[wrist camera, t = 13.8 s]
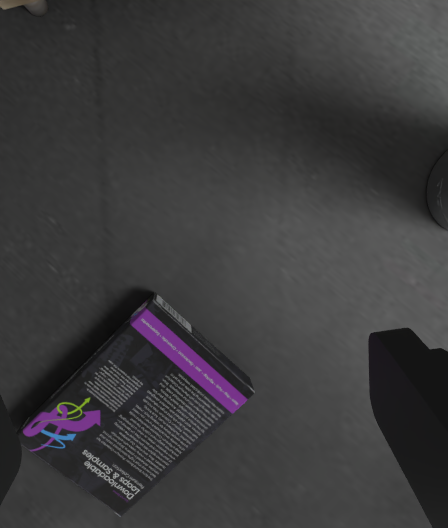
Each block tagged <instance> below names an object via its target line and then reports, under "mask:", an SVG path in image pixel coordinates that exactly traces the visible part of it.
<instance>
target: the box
mask: <svg viewBox="0 0 448 528" xmlns="http://www.w3.org/2000/svg"><path fill="white" fill-rule="evenodd" d="M253 394H255V392H254V389H253V386H252V383H251V380H250V378H249V377H248V376H247V375H246V374H245V373H244V372H242V371H241V370H240V369H239V368H238V367H237V366H236V365H235V364H233V363H232V362H231V361H230V360H229V359H228V358H227V357H226V356H225V355H223V354H222V353H221V352H220V351H219V350H218V349H217V348H216V347H215V346H213V345H212V344H211V343H210V342H209V341H208V340H207V339H206V338H205V337H204V336H202V335H201V334H200V333H199V332H198V331H197V330H196V329H195V328H193V327H192V326H191V325H190V324H189V323H188V322H187V321H186V320H185V319H184V318H182V317H181V316H180V315H179V314H178V313H177V312H176V311H175V310H174V309H173V308H172V307H170V306H169V305H168V304H167V303H166V302H165V301H164V300H163V299H162V298H161V297H159V296H158V295H157V294H156V293H154V294H152V295H151V296H150V297H149V298H148V299H147V300H146V301H145V302H144V303H143V304H142V305H141V306H140V307H139V308H138V309H137V310H136V311H135V312H134V313H133V314H132V315H131V316H130V317H129V318H128V319H127V320H126V321H125V322H124V323H123V324H122V325H121V326H120V327H119V328H118V329H117V330H116V331H115V332H114V333H113V334H112V335H111V336H110V337H109V338H108V339H107V340H106V341H105V342H104V343H103V344H102V345H101V346H100V347H99V348H98V349H97V350H96V351H95V352H94V353H93V354H92V355H91V356H90V357H89V358H88V359H87V360H86V361H85V362H84V363H83V364H82V365H81V366H80V367H79V368H78V369H77V370H76V371H75V372H74V373H73V374H72V375H71V376H70V377H69V378H68V379H67V380H66V381H65V382H64V383H63V384H62V385H61V386H60V387H59V388H58V389H57V390H56V391H55V392H54V393H53V394H52V395H51V396H50V397H49V398H48V399H47V400H46V401H45V402H44V403H43V404H42V405H41V406H40V407H39V408H38V409H37V410H36V411H35V412H34V413H33V414H32V415H31V416H30V417H29V418H28V419H27V420H26V421H25V422H24V423H23V424H22V426H21V427H20V429H19V430H18V432H17V435H18V438H19V440H20V443H21V445H22V446H24V447H25V448H27V449H28V450H29V451H31V452H32V453H33V454H35V455H36V456H38V457H39V458H40V459H42V460H43V461H45V462H46V463H47V464H49V465H50V466H52V467H53V468H54V469H56V470H57V471H58V472H60V473H61V474H63V475H64V476H66V477H67V478H68V479H70V480H71V481H73V482H74V483H76V484H77V485H78V486H80V487H81V488H82V489H84V490H85V491H87V492H88V493H90V494H91V495H92V496H94V497H95V498H97V499H98V500H99V501H101V502H102V503H104V504H105V505H106V506H108V507H109V508H111V509H112V510H113V511H114V512H115V513H116V514H117V515H118V516H120V517H121V516H123V515H124V514H125V513H126V512H127V511H128V510H129V509H130V508H131V507H132V506H133V505H134V504H136V503H137V502H138V501H139V500H140V499H141V498H142V497H143V496H144V495H145V494H146V493H147V492H149V491H150V490H151V489H152V488H153V487H154V486H155V485H156V484H157V483H158V482H159V481H160V480H162V479H163V478H164V477H165V476H166V475H167V474H168V473H169V472H170V471H171V470H172V469H173V468H175V467H176V466H177V465H178V464H179V463H180V462H181V461H182V460H183V459H184V458H185V457H186V456H187V455H189V454H190V453H191V452H192V451H193V450H194V449H195V448H196V447H197V446H198V445H199V444H201V442H203V441H204V440H205V439H206V438H207V437H208V436H209V435H210V434H212V432H213V431H215V430H216V429H217V428H218V427H219V426H220V425H221V424H222V423H223V422H224V421H225V420H226V419H227V418H229V417H230V416H231V415H232V414H233V413H234V412H235V411H236V410H237V409H238V408H239V407H240V406H241V405H243V404H244V403H245V402H246V401H247V400H248V399H249V398H250V397H251V396H252V395H253Z"/></svg>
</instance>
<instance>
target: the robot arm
mask: <svg viewBox="0 0 448 528" xmlns="http://www.w3.org/2000/svg"><path fill="white" fill-rule="evenodd" d="M427 202H428V207H429V210H430V212H431V214H432V216H433V218H434V219H435V220H436V221H437V223H438V224H439V225H441V226H442V227H443V228H445V229H447V230H448V151H446V152H445V153H444V154H443V155H442V156H441V158H440V159H439V160H438V161H437V163H436V164H435V166H434V168H433V169H432V171H431V174H430V177H429V180H428V185H427ZM369 386H370V400H371V405H372V409H373V413H374V416H375V419H376V421H377V423H378V425H379V427H380V429H381V431H382V433H383V435H384V437H385V439H386V441H387V442H388V444H389V446H390V448H391V450H392V452H393V454H394V456H395V457H396V459H397V461H398V463H399V465H400V467H401V469H402V471H403V473H404V474H405V476H406V478H407V480H408V482H409V484H410V486H411V488H412V489H413V491H414V493H415V495H416V497H417V499H418V501H419V503H420V505H421V506H422V508H423V510H424V512H425V514H426V516H427V518H428V520H429V521H430V523H431V525H432V527H433V528H448V352H447V351H445V350H444V349H442V348H438V349H431V350H430V349H429V348H428V347H427V346H426V345H425V344H424V343H423V342H422V341H421V340H420V338H419V337H418V336H417V335H416V334H415V333H414V332H413V331H412V330H411V329H409V328H401V329H394V330H387V331H380V332H373V333H371V334H370V336H369ZM21 456H22V450H21V443H20V440H19V438H18V435H17V433H16V431H15V428H14V426H13V423H12V421H11V419H10V416H9V414H8V412H7V409H6V407H5V405H4V402H3V400H2V397H1V395H0V505H1V503H2V501H3V499H4V497H5V495H6V494H7V492H8V490H9V488H10V486H11V484H12V482H13V480H14V479H15V477H16V475H17V473H18V470H19V467H20V463H21Z"/></svg>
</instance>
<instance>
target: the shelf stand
mask: <svg viewBox="0 0 448 528" xmlns="http://www.w3.org/2000/svg"><path fill="white" fill-rule="evenodd" d="M20 5H24V6H25V7H26V8H27V9H28V10H29V11H30V13H31V14H33V15H34V16H37V17H41V16H43V15H45V14H46V13H47V10H48V4H47V1H46V0H0V7H1V8H3V9H4V10H5V9H8V8H12V7H16V6H20Z"/></svg>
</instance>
